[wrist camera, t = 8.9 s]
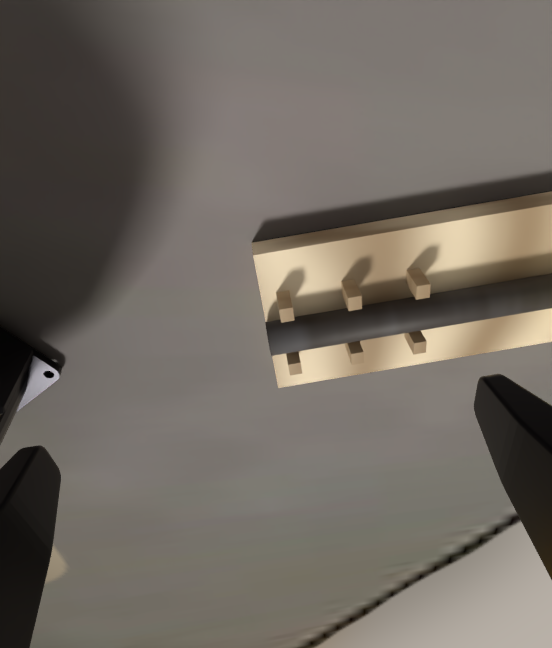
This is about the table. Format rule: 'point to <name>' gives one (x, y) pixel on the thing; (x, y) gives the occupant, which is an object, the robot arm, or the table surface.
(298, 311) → the comb board
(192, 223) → the table surface
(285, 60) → the table surface
